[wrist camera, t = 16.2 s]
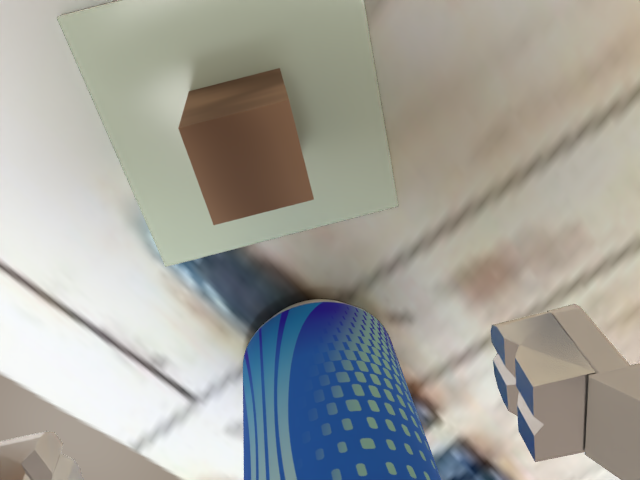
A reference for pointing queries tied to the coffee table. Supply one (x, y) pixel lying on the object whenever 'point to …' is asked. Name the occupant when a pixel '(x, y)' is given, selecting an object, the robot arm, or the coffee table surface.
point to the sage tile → (225, 65)
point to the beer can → (329, 400)
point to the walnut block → (245, 147)
